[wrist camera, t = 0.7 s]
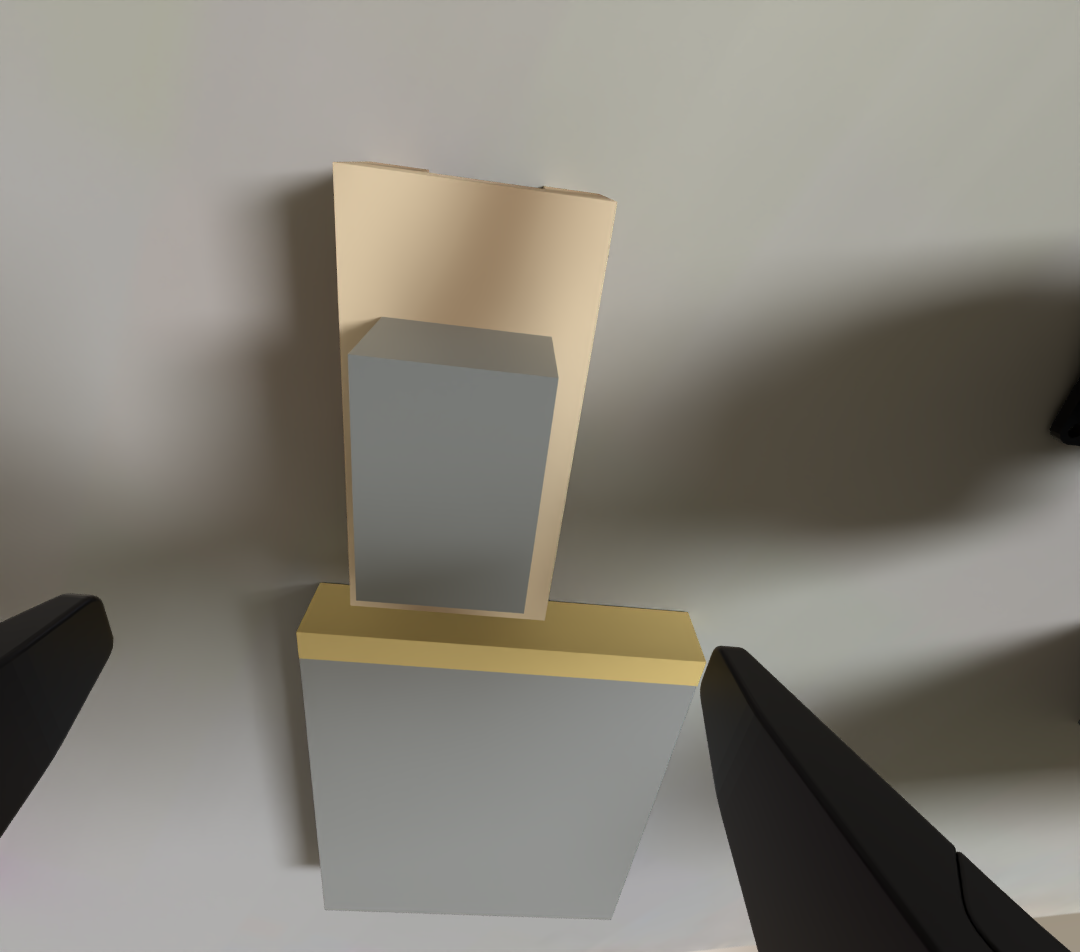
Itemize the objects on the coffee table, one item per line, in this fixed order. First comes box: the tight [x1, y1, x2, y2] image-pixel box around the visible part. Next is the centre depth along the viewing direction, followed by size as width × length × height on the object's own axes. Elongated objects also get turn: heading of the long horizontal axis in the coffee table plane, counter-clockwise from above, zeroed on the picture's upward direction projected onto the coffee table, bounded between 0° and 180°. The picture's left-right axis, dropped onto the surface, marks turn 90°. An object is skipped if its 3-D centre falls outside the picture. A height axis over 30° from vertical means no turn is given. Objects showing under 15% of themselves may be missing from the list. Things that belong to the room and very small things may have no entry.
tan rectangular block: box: [333, 162, 617, 621], centre depth 17 cm, size 6×12×4 cm, turn 173°
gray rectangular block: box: [348, 317, 559, 614], centre depth 14 cm, size 4×6×3 cm, turn 173°
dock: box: [296, 583, 706, 920], centre depth 25 cm, size 14×18×2 cm
